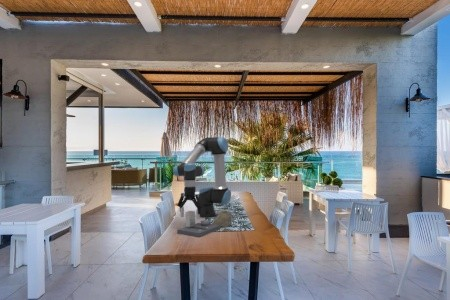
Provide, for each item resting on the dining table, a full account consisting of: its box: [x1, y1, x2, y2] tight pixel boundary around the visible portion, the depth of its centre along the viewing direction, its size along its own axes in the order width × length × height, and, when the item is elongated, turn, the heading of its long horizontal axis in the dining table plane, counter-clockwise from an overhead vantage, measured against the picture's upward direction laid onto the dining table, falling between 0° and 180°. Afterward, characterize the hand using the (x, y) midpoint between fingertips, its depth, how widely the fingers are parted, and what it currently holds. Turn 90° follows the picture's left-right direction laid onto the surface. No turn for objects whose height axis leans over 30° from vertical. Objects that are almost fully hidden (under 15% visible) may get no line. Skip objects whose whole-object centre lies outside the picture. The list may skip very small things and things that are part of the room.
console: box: [176, 220, 221, 238], centre depth 221 cm, size 18×24×5 cm
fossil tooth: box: [211, 210, 233, 228], centre depth 235 cm, size 12×6×15 cm
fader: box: [185, 210, 196, 228], centre depth 223 cm, size 4×6×10 cm, turn 148°
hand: (190, 218), depth 223 cm, fingers open, 13 cm apart
